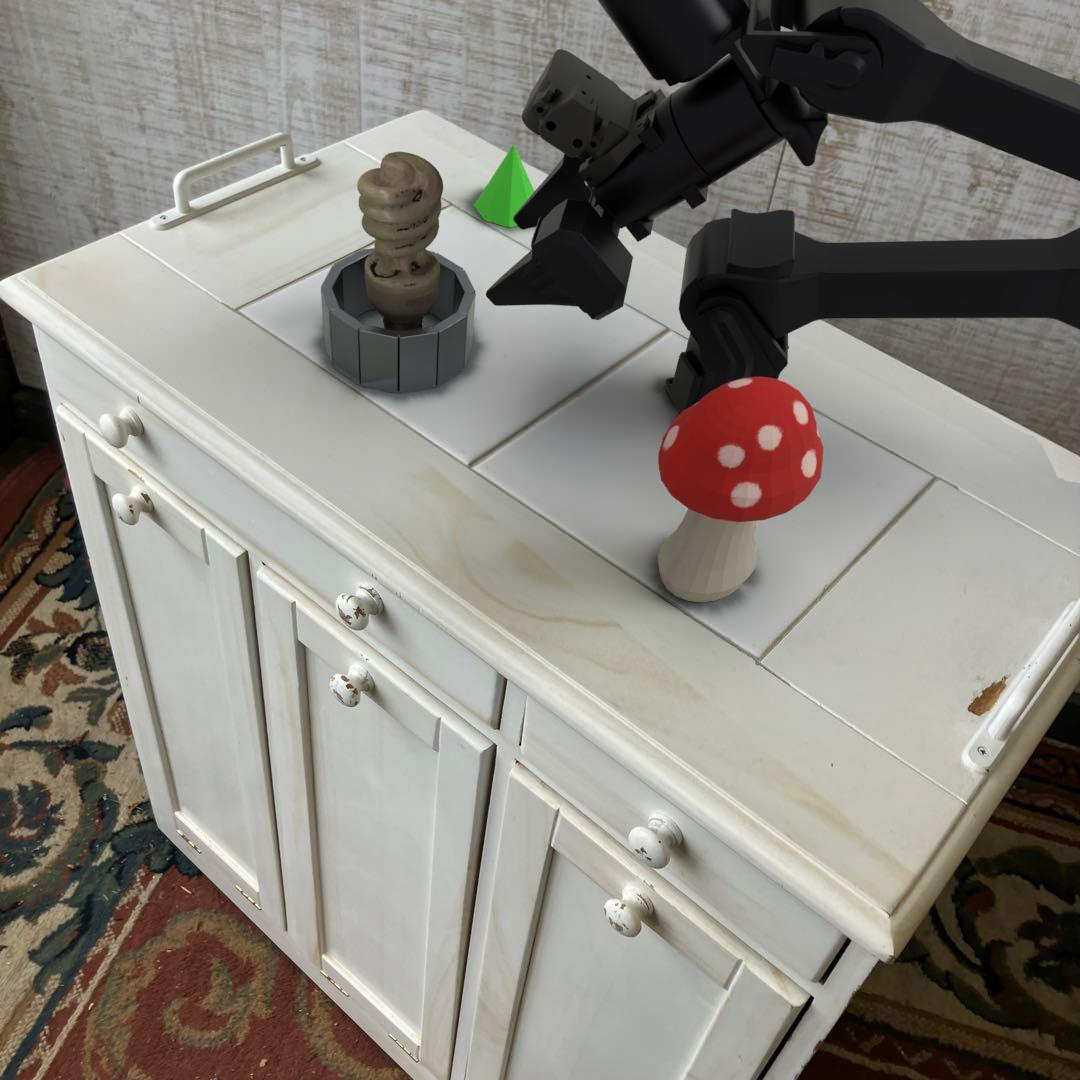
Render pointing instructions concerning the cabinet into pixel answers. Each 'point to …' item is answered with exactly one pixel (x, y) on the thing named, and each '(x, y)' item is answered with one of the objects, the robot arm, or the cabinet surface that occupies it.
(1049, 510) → the cabinet surface
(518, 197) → the green faceted cone
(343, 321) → the faceted gray ring
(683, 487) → the decorative mushroom
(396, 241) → the light bulb
